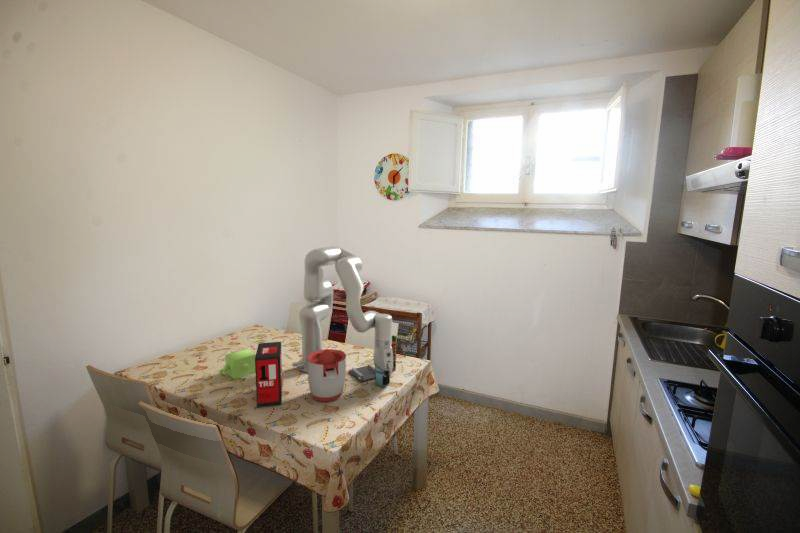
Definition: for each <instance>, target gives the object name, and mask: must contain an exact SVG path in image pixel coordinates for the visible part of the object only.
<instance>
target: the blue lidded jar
mask: <svg viewBox="0 0 800 533" xmlns="http://www.w3.org/2000/svg"><path fill="white" fill-rule="evenodd" d="M385 369H387V367H386V368H385ZM375 371H376V379H375V385H376V386H378V387H386V386H388V385H389V384H387V385H383V376H384V374H383V370H382V369H381V368H379V367H378V366H377V367H376V369H375ZM385 372H386V373H387V372H388V371H387V370H386V371H385Z"/></svg>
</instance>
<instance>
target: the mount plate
mask: <svg viewBox="0 0 800 533" xmlns="http://www.w3.org/2000/svg"><path fill="white" fill-rule="evenodd" d="M348 373H349V374H350V375H351V376H353V377H354V378H355V379H356V380H357V381H358V382H359V383H360V384H362V383H366V382H369V381H374V380H376V379H375V366H373V365H372V364H370V363H367V365H365V366H360V367H351V369H348Z"/></svg>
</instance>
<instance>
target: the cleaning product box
mask: <svg viewBox="0 0 800 533" xmlns="http://www.w3.org/2000/svg"><path fill="white" fill-rule="evenodd" d="M255 355H256V356H255V372H254V373H255V389H256V390H255V392H256V408H257V409H261V408H266V407H267V408H268V407H275V406H282V399H283V363H282V362H283V361H282V341H271V342H260V343H258V344H257V349H256V353H255Z"/></svg>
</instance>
